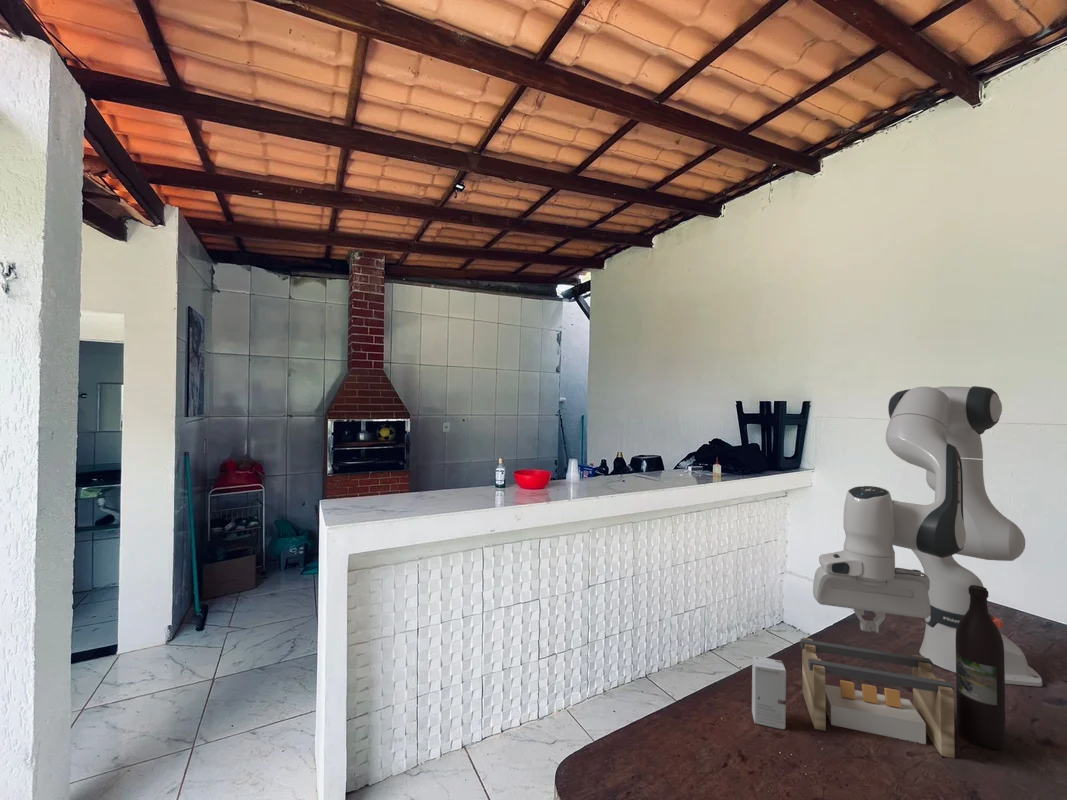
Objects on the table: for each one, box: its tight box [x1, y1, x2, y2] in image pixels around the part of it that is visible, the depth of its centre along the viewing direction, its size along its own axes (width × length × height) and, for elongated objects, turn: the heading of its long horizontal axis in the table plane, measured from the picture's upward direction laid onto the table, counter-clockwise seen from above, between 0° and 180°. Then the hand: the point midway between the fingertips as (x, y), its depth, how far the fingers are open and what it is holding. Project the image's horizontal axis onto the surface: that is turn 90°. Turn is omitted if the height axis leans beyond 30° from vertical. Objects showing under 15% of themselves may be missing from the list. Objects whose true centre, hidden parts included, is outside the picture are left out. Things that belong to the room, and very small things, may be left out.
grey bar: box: [808, 659, 955, 692], centre depth 94 cm, size 24×2×2 cm, turn 69°
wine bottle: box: [955, 585, 1007, 750], centre depth 93 cm, size 7×7×30 cm
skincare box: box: [751, 655, 787, 730], centre depth 98 cm, size 6×4×12 cm
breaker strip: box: [825, 684, 927, 745], centre depth 98 cm, size 16×8×4 cm, turn 69°
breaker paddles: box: [839, 679, 901, 708], centre depth 98 cm, size 10×1×3 cm, turn 69°
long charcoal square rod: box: [800, 638, 934, 671], centre depth 102 cm, size 24×2×2 cm, turn 69°
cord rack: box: [801, 637, 956, 759], centre depth 98 cm, size 23×13×13 cm, turn 69°
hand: (869, 630), depth 98 cm, fingers closed
